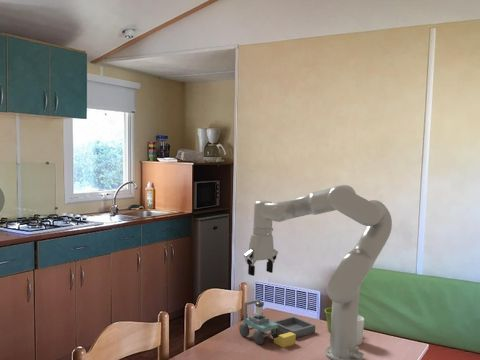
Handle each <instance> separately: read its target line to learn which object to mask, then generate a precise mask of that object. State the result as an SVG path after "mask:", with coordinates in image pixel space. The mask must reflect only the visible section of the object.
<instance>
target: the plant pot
mask: <svg viewBox="0 0 480 360" xmlns="http://www.w3.org/2000/svg"><path fill="white" fill-rule="evenodd" d="M324 312H325V313H324V314H325V316H326V326H327V327H326V328H327V331H328V332H329V333H331V313H332V307H327V308H325V309H324Z"/></svg>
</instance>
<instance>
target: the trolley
mask: <svg viewBox="0 0 480 360" xmlns="http://www.w3.org/2000/svg"><path fill="white" fill-rule="evenodd" d="M257 301H260V302H261V299H253V300H249V301H245V302H244V304H243V305H244V307H243V309H244V310H243V319H242V320H243V321H242V322H243V323H242V324H240V325H239V328H238V330H239V334H240V336H242V337H243V338H245V337H248V336H249V334H250V330H251V331H252V330H256V331H254V332H253V335H252V336H253V340H254V343H255V344H257V345H259V346H260V345H262V344H263V343H264V341H265V337H266V338H267V337H270V336H271V338H273V339H274V338H277V337H278V335H281V334H282V333H281V330H280V328H279V327H278V324H276V323H274V322H273V321H272V320H270V318H269V317H267V316H265V315H263V319H259V320H258V319H256V318H255V314H253V315H249V316H247V315H248V305H253V304H254V305H255V302H257ZM268 331H269V332H270V333H267V334H263V333H265V332H268Z"/></svg>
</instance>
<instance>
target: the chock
mask: <svg viewBox="0 0 480 360" xmlns="http://www.w3.org/2000/svg"><path fill="white" fill-rule="evenodd" d="M296 339H297V338H296V334H294V333H292V332H288V333H285V334H282V333H281V335H278V337H277V338H273V343H274V344H276V345H278V346H280V347H281V348H286V347H290V346H293V345H295V344H296Z"/></svg>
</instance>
